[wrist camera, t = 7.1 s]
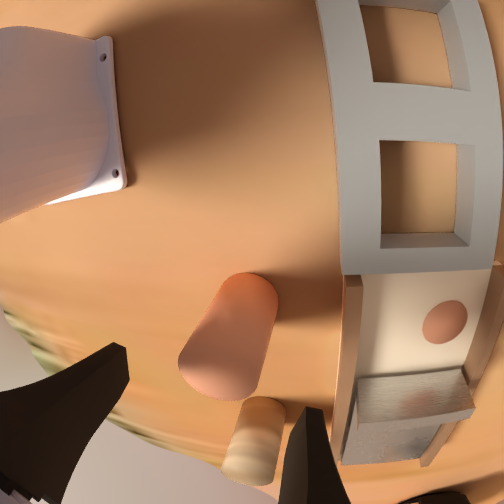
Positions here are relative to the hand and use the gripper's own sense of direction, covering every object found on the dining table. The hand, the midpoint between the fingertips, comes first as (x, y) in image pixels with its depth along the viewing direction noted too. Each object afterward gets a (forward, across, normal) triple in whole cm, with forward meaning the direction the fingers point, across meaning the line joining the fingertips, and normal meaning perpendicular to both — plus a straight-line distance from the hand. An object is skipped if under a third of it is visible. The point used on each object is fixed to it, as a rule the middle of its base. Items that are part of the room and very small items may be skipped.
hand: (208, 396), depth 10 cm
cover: (+6, -13, +7) cm, 16 cm away
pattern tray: (+7, -12, +4) cm, 14 cm away
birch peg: (+7, -3, +10) cm, 12 cm away
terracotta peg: (+7, 0, 0) cm, 7 cm away
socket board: (+7, -6, -12) cm, 15 cm away
